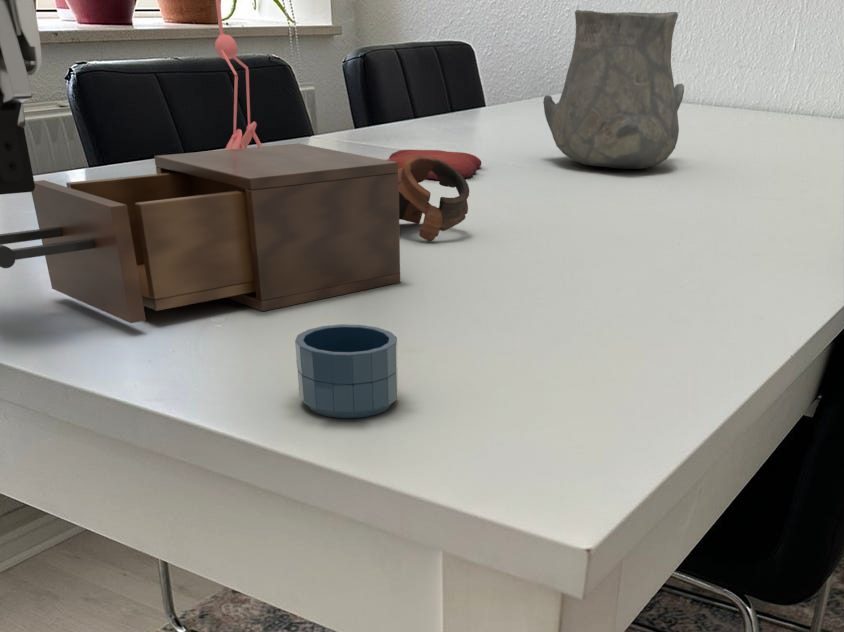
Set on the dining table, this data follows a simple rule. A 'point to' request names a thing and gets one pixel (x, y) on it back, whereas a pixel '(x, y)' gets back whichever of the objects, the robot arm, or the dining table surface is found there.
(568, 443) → the dining table surface
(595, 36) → the vessel
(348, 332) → the blue cup
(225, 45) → the figurine
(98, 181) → the drawer
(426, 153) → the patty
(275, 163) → the cabinet
